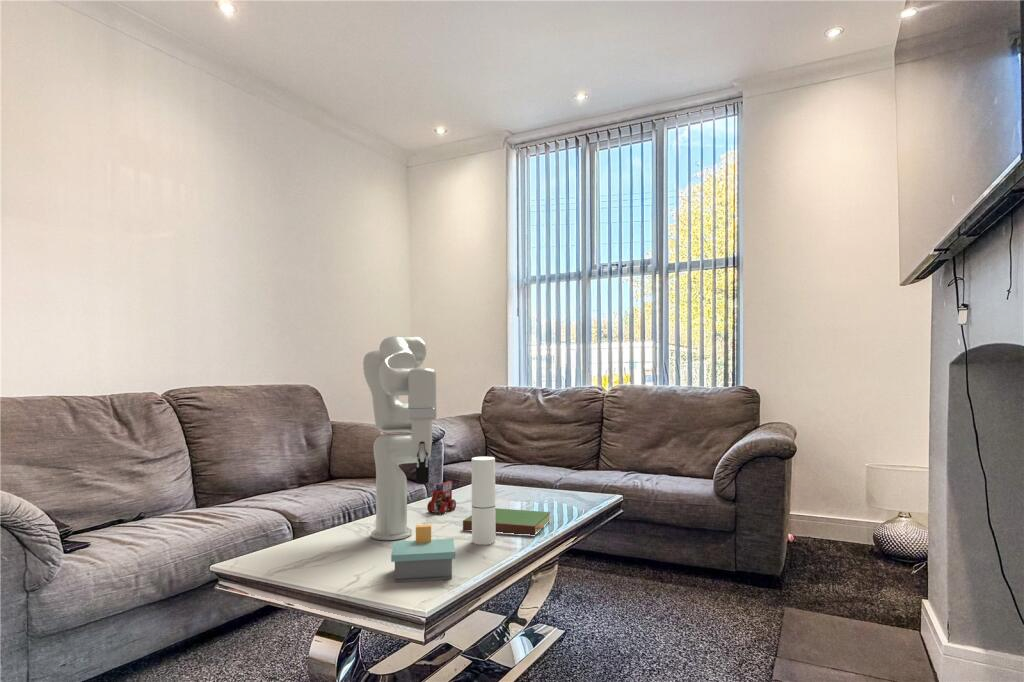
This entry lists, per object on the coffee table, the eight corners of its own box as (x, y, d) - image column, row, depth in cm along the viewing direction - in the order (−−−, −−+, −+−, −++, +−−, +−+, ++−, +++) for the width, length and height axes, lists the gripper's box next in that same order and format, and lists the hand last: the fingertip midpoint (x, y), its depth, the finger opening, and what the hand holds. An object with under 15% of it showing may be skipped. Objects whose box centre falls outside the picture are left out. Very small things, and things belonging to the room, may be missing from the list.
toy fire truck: (423, 514, 212) (423, 485, 212) (443, 506, 223) (443, 479, 223) (439, 516, 209) (439, 486, 209) (458, 508, 220) (458, 480, 220)
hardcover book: (462, 532, 189) (462, 520, 190) (484, 518, 207) (483, 507, 207) (537, 538, 181) (537, 526, 182) (552, 523, 199) (552, 512, 199)
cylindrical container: (495, 538, 181) (495, 456, 182) (495, 544, 174) (495, 459, 175) (472, 538, 180) (471, 456, 182) (471, 545, 173) (471, 460, 175)
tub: (396, 568, 154) (396, 545, 154) (450, 565, 156) (450, 542, 156) (394, 582, 144) (394, 557, 144) (452, 578, 146) (451, 554, 146)
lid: (393, 547, 154) (393, 526, 155) (453, 544, 157) (452, 523, 157) (391, 561, 143) (391, 538, 143) (455, 558, 145) (455, 535, 146)
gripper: (409, 413, 164) (409, 475, 163) (406, 417, 147) (407, 486, 146) (436, 412, 165) (436, 473, 164) (436, 416, 148) (437, 484, 147)
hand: (422, 479), depth 155 cm, fingers open, 9 cm apart
